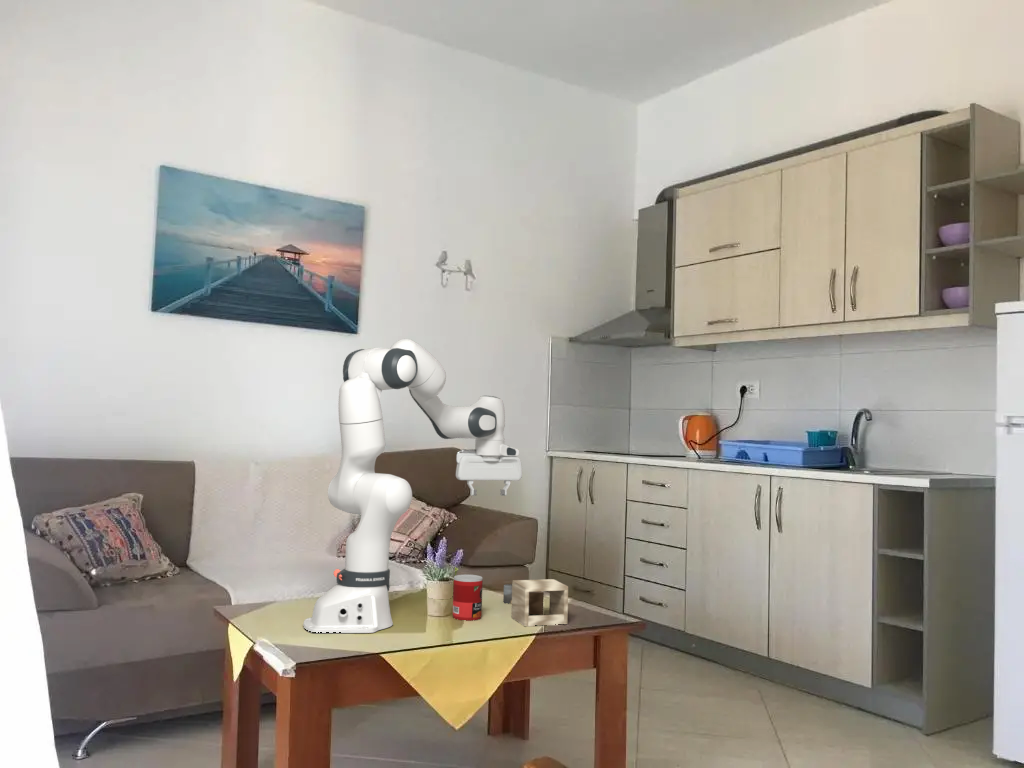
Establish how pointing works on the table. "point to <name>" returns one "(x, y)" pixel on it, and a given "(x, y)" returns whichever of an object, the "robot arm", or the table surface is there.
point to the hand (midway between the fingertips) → (488, 495)
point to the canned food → (467, 597)
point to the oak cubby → (556, 604)
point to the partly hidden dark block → (534, 599)
